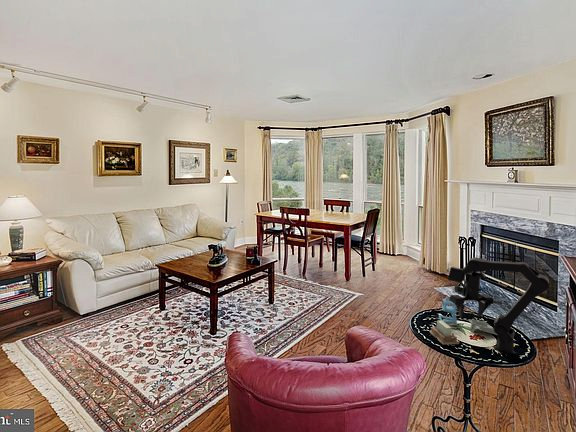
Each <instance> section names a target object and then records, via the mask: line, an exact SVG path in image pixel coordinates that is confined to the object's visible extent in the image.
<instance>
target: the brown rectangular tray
mask: <svg viewBox="0 0 576 432" xmlns="http://www.w3.org/2000/svg"><path fill="white" fill-rule="evenodd" d="M429 333H430V334H431V335H432V336H433V337H434V338H435V339H436V338H437V339H436V340H437V341H439V343H441V344H442V345H459V344H460V341H459V340H458V337H457V336H456V335H455V333H454V332H451V336H450V337H445V336H443V335H442V334H441V333H440V332H439V331H438V330H437V326H432V327H431V329H430V330H429Z"/></svg>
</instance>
